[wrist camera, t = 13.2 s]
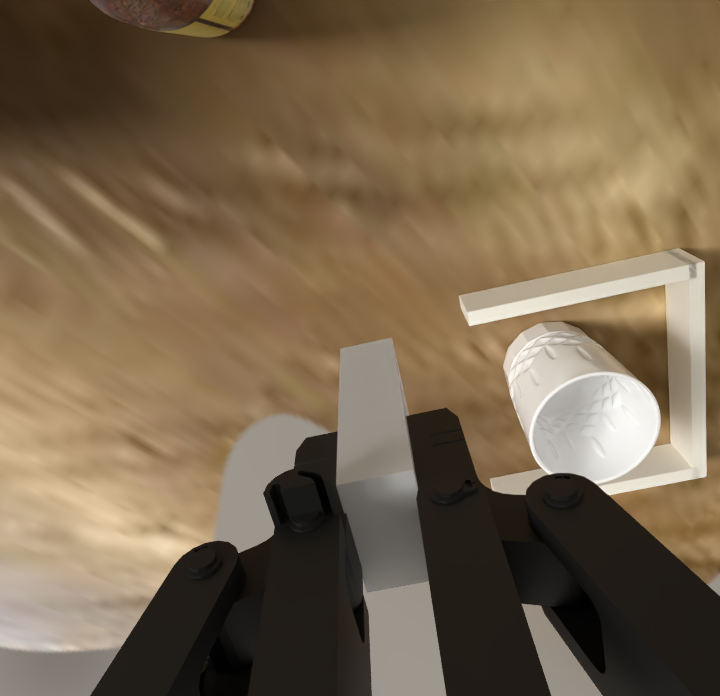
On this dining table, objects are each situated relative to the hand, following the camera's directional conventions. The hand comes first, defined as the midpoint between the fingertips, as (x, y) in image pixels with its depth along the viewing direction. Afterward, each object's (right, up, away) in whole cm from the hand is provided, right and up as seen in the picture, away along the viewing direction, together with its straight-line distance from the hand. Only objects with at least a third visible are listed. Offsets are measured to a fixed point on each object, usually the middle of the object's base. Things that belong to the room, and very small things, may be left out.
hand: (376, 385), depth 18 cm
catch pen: (+16, -1, +30) cm, 34 cm away
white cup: (+14, 0, +29) cm, 32 cm away
